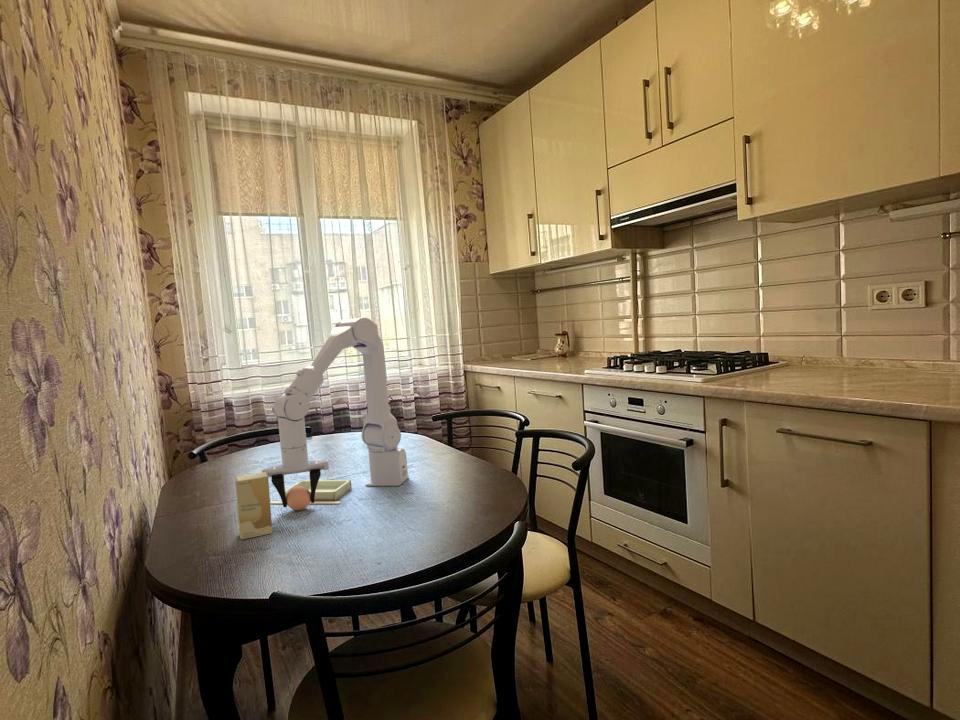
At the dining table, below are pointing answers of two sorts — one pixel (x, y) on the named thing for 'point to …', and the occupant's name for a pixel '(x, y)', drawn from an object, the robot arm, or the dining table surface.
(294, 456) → the robot arm
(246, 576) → the dining table surface
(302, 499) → the ball
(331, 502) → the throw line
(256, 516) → the skincare box
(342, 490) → the tray
